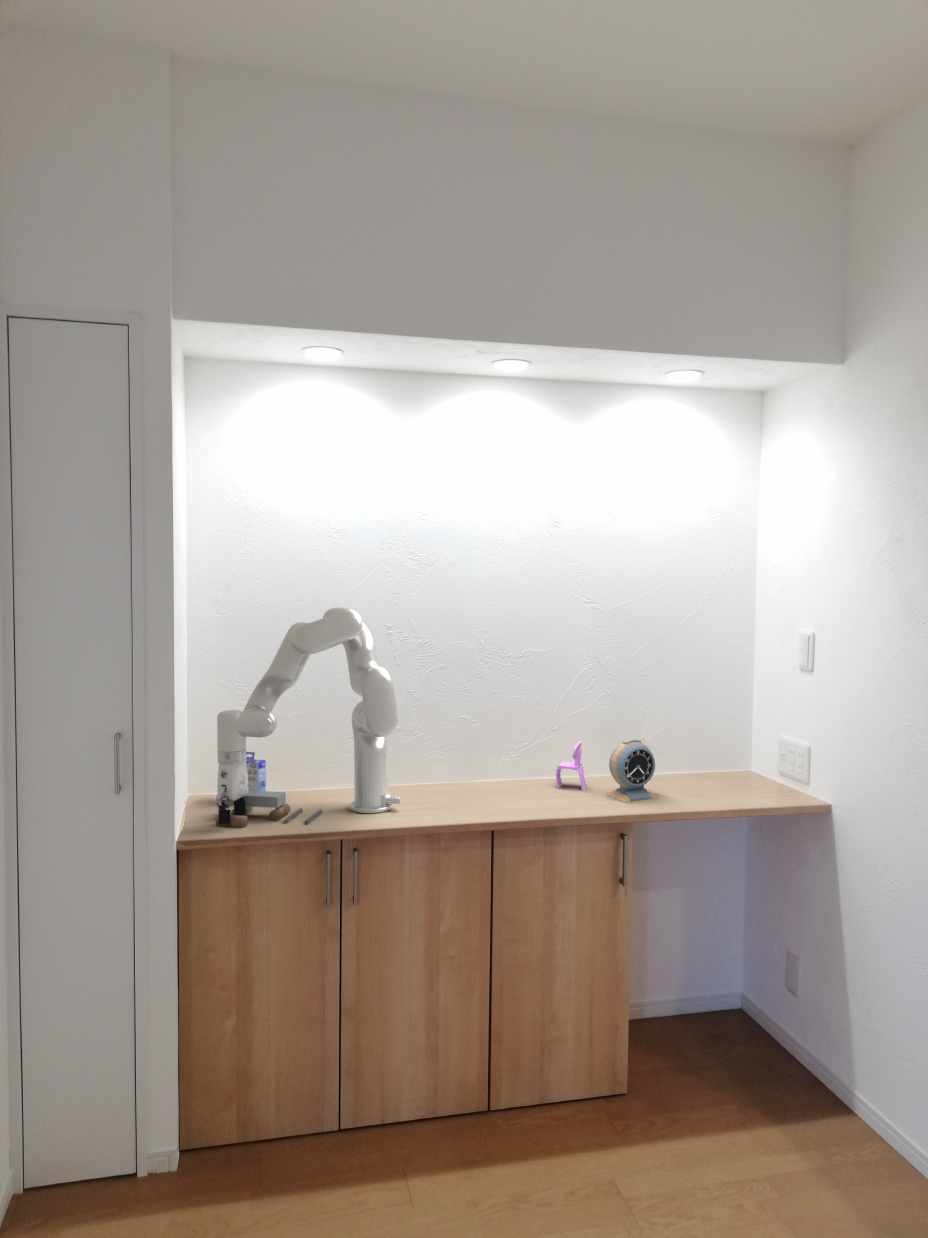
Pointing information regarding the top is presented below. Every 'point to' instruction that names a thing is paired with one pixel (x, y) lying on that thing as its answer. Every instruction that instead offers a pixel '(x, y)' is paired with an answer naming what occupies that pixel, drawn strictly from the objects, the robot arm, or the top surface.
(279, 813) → the roller
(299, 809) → the bar
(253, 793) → the slab
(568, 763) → the toy chair
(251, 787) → the ink cartridge box
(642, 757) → the alarm clock
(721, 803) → the top surface
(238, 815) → the roller
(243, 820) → the roller
